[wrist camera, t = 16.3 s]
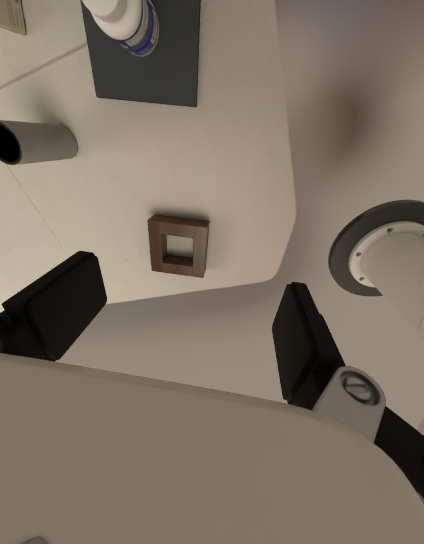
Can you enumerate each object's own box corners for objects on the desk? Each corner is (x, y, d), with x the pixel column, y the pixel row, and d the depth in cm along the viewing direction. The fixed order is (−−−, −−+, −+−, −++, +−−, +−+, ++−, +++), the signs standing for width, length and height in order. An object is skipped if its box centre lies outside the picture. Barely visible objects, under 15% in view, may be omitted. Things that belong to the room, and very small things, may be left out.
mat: (203, -68, 21) (202, -72, 21) (196, 107, 29) (195, 106, 28) (70, -75, 22) (66, -81, 21) (98, 97, 29) (96, 96, 29)
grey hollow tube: (53, 117, 31) (-18, 109, 23) (81, 139, 32) (25, 139, 24) (46, 145, 33) (-21, 147, 25) (73, 164, 35) (18, 173, 26)
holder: (209, 221, 37) (207, 227, 35) (205, 269, 43) (203, 277, 40) (153, 214, 38) (147, 220, 35) (157, 262, 43) (151, 271, 41)
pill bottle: (108, 22, 25) (52, -27, 17) (136, -23, 23) (86, -102, 15) (140, 69, 27) (103, 43, 19) (169, 31, 25) (139, -15, 17)
